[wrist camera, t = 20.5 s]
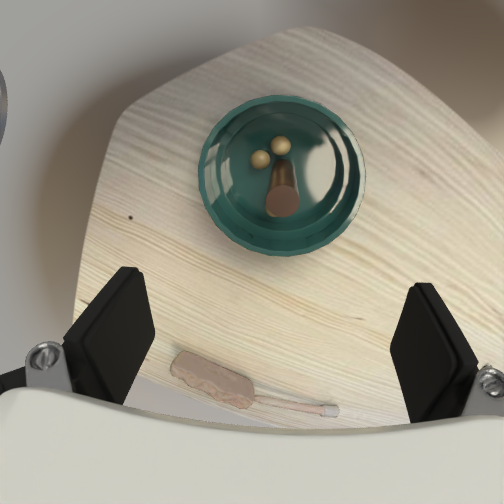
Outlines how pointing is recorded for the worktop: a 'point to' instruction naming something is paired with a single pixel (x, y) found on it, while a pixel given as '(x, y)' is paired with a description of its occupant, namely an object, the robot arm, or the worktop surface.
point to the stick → (282, 189)
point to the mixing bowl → (256, 181)
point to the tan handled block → (232, 385)
